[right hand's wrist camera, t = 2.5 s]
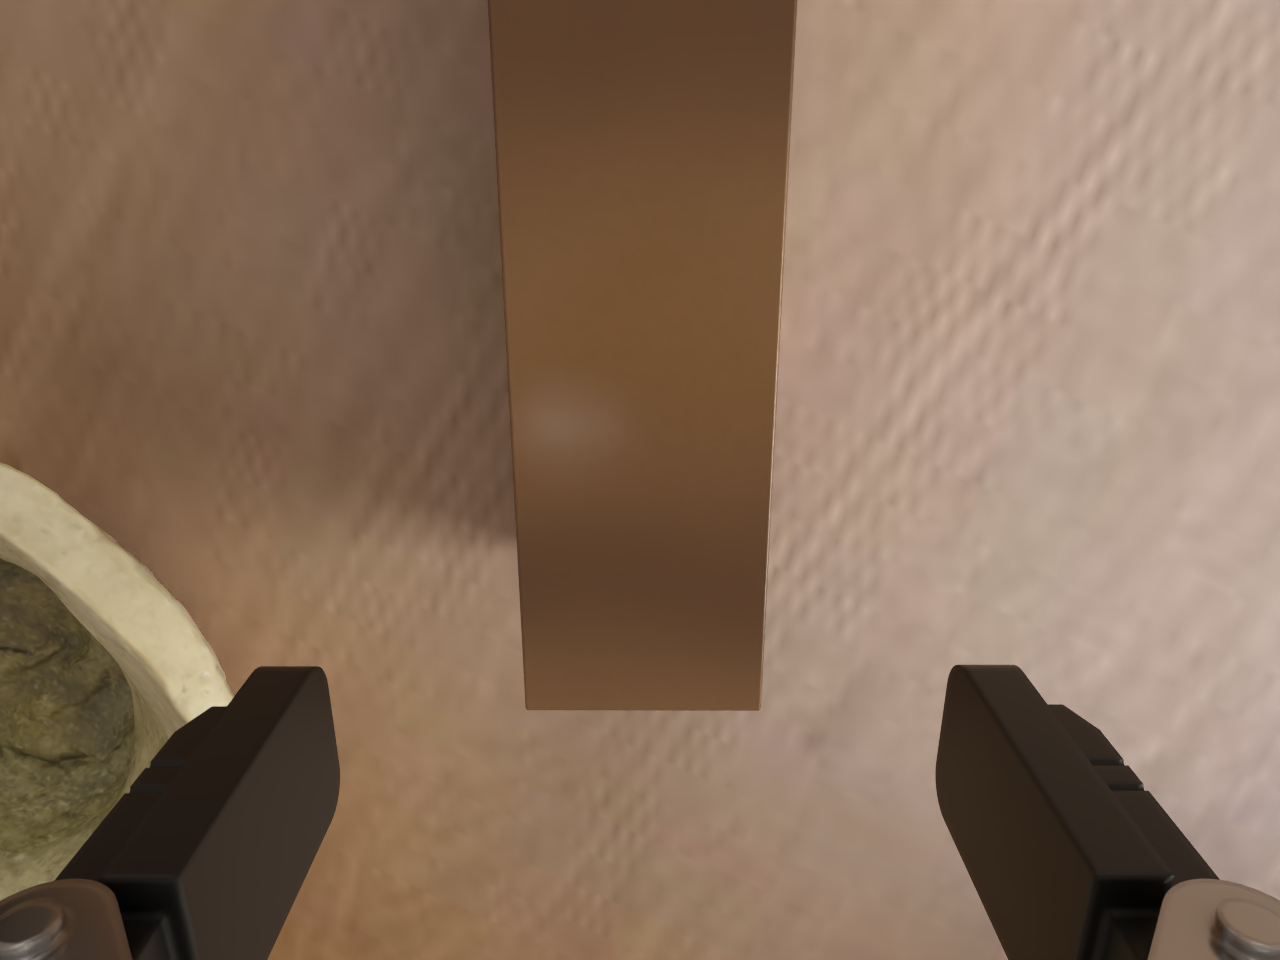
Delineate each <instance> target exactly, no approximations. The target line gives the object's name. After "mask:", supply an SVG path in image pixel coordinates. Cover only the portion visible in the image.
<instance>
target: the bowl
mask: <svg viewBox="0 0 1280 960" xmlns="http://www.w3.org/2000/svg"><path fill="white" fill-rule="evenodd" d="M233 698H234V695H233V693H232V692H231V690H230V687H229V685H228V684H227V682H226V675H225V673H224V671H223V670H222V668H221V666H220V664H219V662H218V659H217V657H216V655H215V653H214V651H213V649H212V648H211V646H210V644H209V643H208V642H207V641H206V639H205V638H204V637H203V635H202V633H201V632H200V630H199V629H198V627H197V626H196V624H195V622H194V621H193V619H192V618H191V616H190V615H189V613H188V612H187V611H186V609H185V608H184V607H183V605H182V604H181V603H180V602H179V601H177V600H176V599H175V598H173V597H172V596H171V594H170V593H169V592H168V591H167V589H166V588H165V587H164V586H162V585H161V584H160V582H159V581H158V580H157V579H156V578H155V577H154V575H153V574H152V573H151V572H150V570H149V569H148V568H147V567H146V566H145V565H144V564H143V563H141V562H140V561H139V560H137V559H136V558H135V557H134V556H133V555H132V554H131V553H130V552H129V551H127V550H125V549H124V548H123V547H122V546H120V545H119V544H118V543H117V541H116V540H115V539H114V538H113V537H112V536H110V535H109V534H107V533H106V532H105V531H103V530H102V529H100V528H99V527H98V526H96V525H95V524H94V523H92V522H91V521H90V520H88V519H87V518H85V517H84V516H83V515H81V514H80V513H79V512H78V511H77V510H76V509H74V508H73V507H72V506H70V505H69V504H68V503H67V502H65V501H64V500H63V499H62V498H61V497H60V496H59V495H58V494H57V493H56V492H55V491H53V490H51V489H50V488H48V487H46V486H44V485H43V484H42V483H40V482H39V481H37V480H36V479H35V478H33V477H31V476H29V475H27V474H25V473H23V472H21V471H18V470H16V469H15V468H13V467H11V466H10V465H8V464H4V463H1V462H0V901H1V900H3V899H4V898H6V897H8V896H10V895H13V894H15V893H17V892H19V891H22V890H24V889H27V888H30V887H33V886H36V885H39V884H43V883H47V882H51V881H54V880H55V879H56V878H57V876H58V875H59V874H60V873H61V872H62V870H63V869H64V868H65V867H66V865H67V864H68V863H69V862H70V860H71V859H72V858H73V857H74V855H75V854H76V853H77V852H78V851H79V849H80V848H81V847H82V846H83V844H84V843H85V842H86V841H87V839H88V838H89V837H90V836H91V834H92V833H93V832H94V831H95V830H96V828H97V827H98V826H99V825H100V823H101V822H102V821H103V820H104V818H105V817H106V816H107V815H108V813H109V812H110V811H111V810H112V809H113V807H114V806H115V805H116V804H117V802H118V801H119V800H120V799H121V797H122V796H123V795H124V794H125V793H129V792H130V786H131V785H132V784H133V783H134V781H135V780H136V779H137V778H138V776H139V775H140V774H141V773H142V772H143V770H144V769H145V768H150V764H151V763H150V762H151V760H152V759H153V758H154V757H155V755H156V754H157V753H158V752H159V751H160V749H161V748H162V747H163V746H164V744H165V743H166V742H167V741H168V739H169V738H170V737H171V736H172V734H173V733H174V732H175V731H177V730H178V729H180V728H181V727H183V726H184V725H185V724H187V723H188V722H190V721H191V720H193V719H194V718H196V717H197V716H199V715H200V714H202V713H203V712H204V711H206V710H207V709H209V708H210V707H212V706H228V704H229V703H230V702H231V700H232V699H233Z"/></svg>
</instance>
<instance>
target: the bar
mask: <svg viewBox="0 0 1280 960" xmlns="http://www.w3.org/2000/svg"><path fill="white" fill-rule="evenodd" d="M488 13H489V31H490V50H491V69H492V87H493V106H494V125H495V143H496V162H497V181H498V199H499V218H500V237H501V255H502V274H503V293H504V312H505V330H506V349H507V368H508V386H509V405H510V424H511V442H512V461H513V480H514V498H515V517H516V536H517V554H518V573H519V592H520V611H521V629H522V648H523V667H524V685H525V704H526V709H527V710H760V708H761V695H762V676H763V657H764V637H765V618H766V598H767V579H768V559H769V540H770V520H771V501H772V481H773V462H774V443H775V423H776V404H777V384H778V365H779V345H780V326H781V306H782V287H783V267H784V248H785V229H786V209H787V190H788V170H789V151H790V131H791V112H792V92H793V73H794V53H795V34H796V15H797V0H488Z"/></svg>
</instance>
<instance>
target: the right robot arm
mask: <svg viewBox="0 0 1280 960" xmlns="http://www.w3.org/2000/svg"><path fill="white" fill-rule="evenodd" d="M150 763H151V764H150V768H145V769H144V770H143V772H142V773H141V774H140V775H139V776H138V778H137V779H136V780H135V781H134V783H133V784H132V785H131V786H130V792H129V793H125V794H124V795H123V796H122V797H121V799H120V800H119V801H118V802H117V804H116V805H115V806H114V807H113V809H112V810H111V811H110V812H109V813H108V815H107V816H106V817H105V818H104V820H103V821H102V822H101V823H100V825H99V826H98V827H97V828H96V830H95V831H94V832H93V833H92V834H91V836H90V837H89V838H88V839H87V841H86V842H85V843H84V844H83V846H82V847H81V848H80V849H79V851H78V852H77V853H76V854H75V855H74V857H73V858H72V859H71V860H70V862H69V863H68V864H67V865H66V867H65V868H64V869H63V870H62V872H61V873H60V874H59V875H58V876H57V878H56V879H55V880H54V881H51V882H47V883H43V884H39V885H36V886H33V887H30V888H27V889H24V890H22V891H19V892H17V893H15V894H13V895H10V896H8V897H6V898H4V899H3V900H1V901H0V960H267V959H268V957H269V954H270V952H271V950H272V948H273V946H274V944H275V942H276V939H277V937H278V935H279V933H280V931H281V929H282V926H283V924H284V922H285V920H286V918H287V916H288V914H289V911H290V909H291V907H292V905H293V903H294V901H295V898H296V896H297V894H298V892H299V890H300V888H301V886H302V883H303V881H304V879H305V877H306V875H307V873H308V871H309V868H310V866H311V864H312V862H313V860H314V858H315V855H316V853H317V851H318V849H319V847H320V845H321V843H322V840H323V838H324V836H325V834H326V832H327V830H328V827H329V825H330V823H331V821H332V818H333V816H334V813H335V809H336V805H337V801H338V795H339V786H340V768H339V760H338V753H337V745H336V738H335V731H334V724H333V717H332V710H331V703H330V696H329V689H328V683H327V678H326V675H325V673H324V671H323V669H322V668H320V667H317V666H261V667H258V668H257V669H255V670H254V671H253V673H252V674H251V675H250V676H249V678H248V679H247V680H246V682H245V683H244V684H243V686H242V687H241V688H240V690H239V691H238V692H237V694H236V695H235V696H234V698H233V699H232V700H231V702H230V703H229V704H228V706H212V707H210V708H209V709H207V710H206V711H204V712H203V713H202V714H200V715H199V716H197V717H196V718H194V719H193V720H191V721H190V722H188V723H187V724H185V725H184V726H183V727H181V728H180V729H178V730H177V731H175V732H174V733H173V734H172V736H171V737H170V738H169V739H168V741H167V742H166V743H165V744H164V746H163V747H162V748H161V749H160V751H159V752H158V753H157V754H156V755H155V757H154V758H153V759H152V760H151V762H150ZM936 789H937V796H938V802H939V806H940V810H941V813H942V816H943V818H944V820H945V823H946V825H947V827H948V829H949V831H950V834H951V836H952V838H953V840H954V842H955V844H956V847H957V849H958V851H959V853H960V855H961V857H962V860H963V862H964V864H965V866H966V868H967V871H968V873H969V875H970V877H971V879H972V881H973V884H974V886H975V888H976V890H977V892H978V895H979V897H980V899H981V901H982V903H983V905H984V908H985V910H986V912H987V914H988V916H989V918H990V921H991V923H992V925H993V927H994V929H995V932H996V934H997V936H998V938H999V940H1000V942H1001V945H1002V947H1003V949H1004V951H1005V953H1006V955H1007V958H1008V960H1280V901H1279V900H1277V899H1276V898H1274V897H1272V896H1270V895H1267V894H1265V893H1263V892H1261V891H1258V890H1256V889H1253V888H1250V887H1247V886H1244V885H1241V884H1237V883H1233V882H1229V881H1224V880H1220V879H1219V878H1218V877H1217V876H1216V874H1215V873H1214V872H1213V871H1212V869H1211V868H1210V867H1209V866H1208V864H1207V863H1206V862H1205V861H1204V859H1203V858H1202V857H1201V856H1200V854H1199V853H1198V852H1197V851H1196V849H1195V848H1194V847H1193V846H1192V844H1191V843H1190V842H1189V841H1188V839H1187V838H1186V837H1185V836H1184V834H1183V833H1182V832H1181V831H1180V829H1179V828H1178V827H1177V826H1176V824H1175V823H1174V822H1173V821H1172V819H1171V818H1170V817H1169V816H1168V814H1167V813H1166V812H1165V811H1164V809H1163V808H1162V807H1161V806H1160V805H1159V803H1158V802H1157V801H1156V800H1155V798H1154V797H1153V796H1152V795H1151V793H1150V792H1149V791H1144V788H1143V783H1142V782H1141V781H1140V780H1139V778H1138V777H1137V776H1136V775H1135V773H1134V772H1133V771H1132V770H1131V768H1130V767H1129V766H1124V763H1123V758H1122V757H1121V756H1120V755H1119V753H1118V752H1117V751H1116V750H1115V748H1114V747H1113V746H1112V745H1111V743H1110V742H1109V741H1108V740H1107V738H1106V737H1105V736H1104V735H1103V733H1102V732H1101V731H1100V730H1099V729H1098V728H1096V727H1095V726H1093V725H1092V724H1090V723H1089V722H1087V721H1086V720H1084V719H1083V718H1081V717H1080V716H1079V715H1077V714H1076V713H1074V712H1073V711H1071V710H1070V709H1068V708H1067V707H1065V706H1064V705H1047V703H1046V702H1045V701H1044V699H1043V698H1042V697H1041V695H1040V694H1039V693H1038V691H1037V690H1036V689H1035V687H1034V686H1033V685H1032V683H1031V682H1030V680H1029V679H1028V678H1027V676H1026V675H1025V674H1024V672H1023V671H1022V670H1021V669H1020V668H1019V667H1018V666H1016V665H955V666H954V667H953V668H952V670H951V672H950V674H949V677H948V682H947V689H946V696H945V704H944V711H943V718H942V725H941V732H940V740H939V747H938V754H937V761H936Z"/></svg>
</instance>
